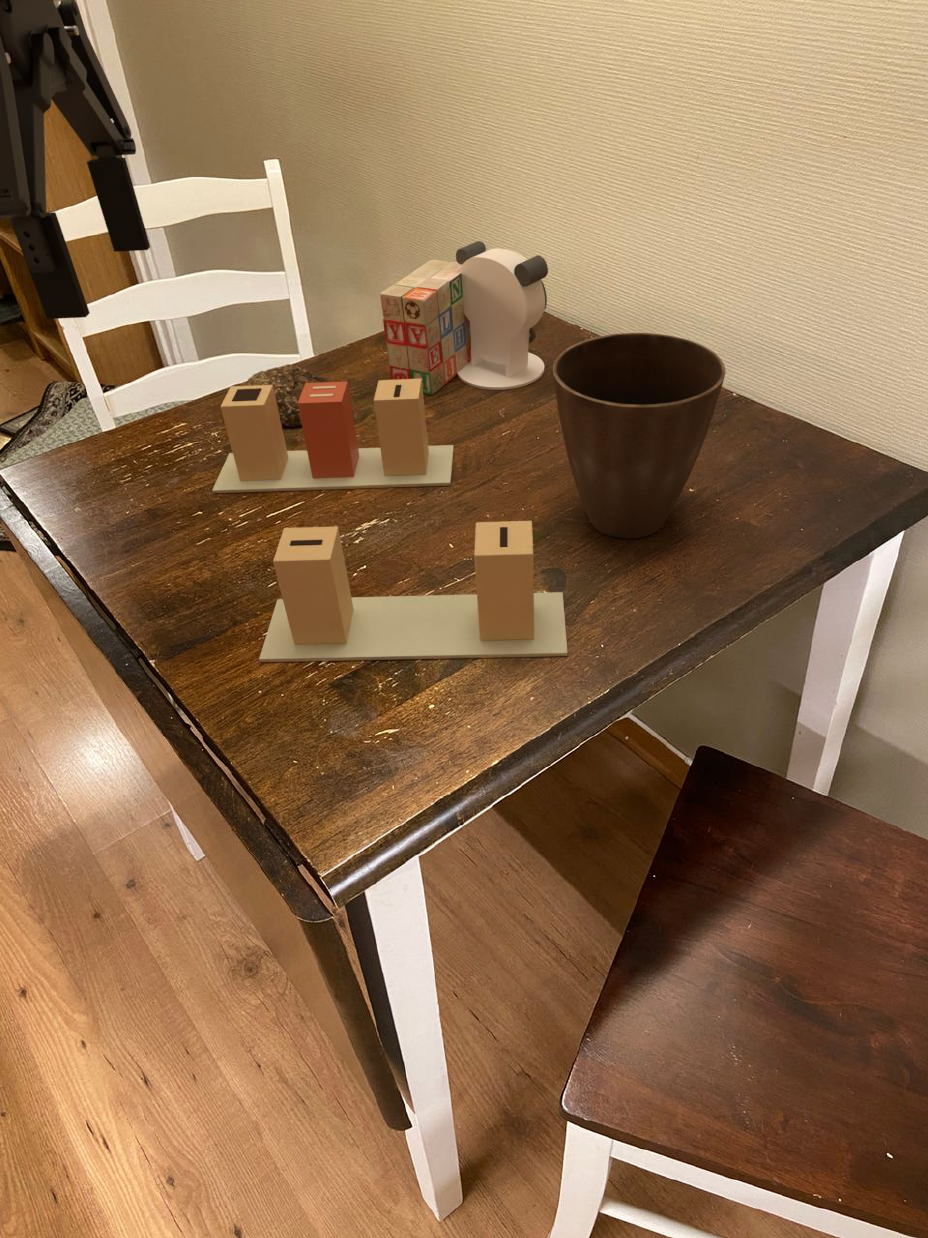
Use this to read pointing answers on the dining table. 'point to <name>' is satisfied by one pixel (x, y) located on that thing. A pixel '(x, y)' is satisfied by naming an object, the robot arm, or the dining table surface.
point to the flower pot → (634, 424)
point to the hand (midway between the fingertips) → (103, 280)
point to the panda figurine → (501, 315)
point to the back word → (274, 468)
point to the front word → (412, 606)
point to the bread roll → (286, 389)
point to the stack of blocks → (427, 325)
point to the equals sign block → (329, 429)
